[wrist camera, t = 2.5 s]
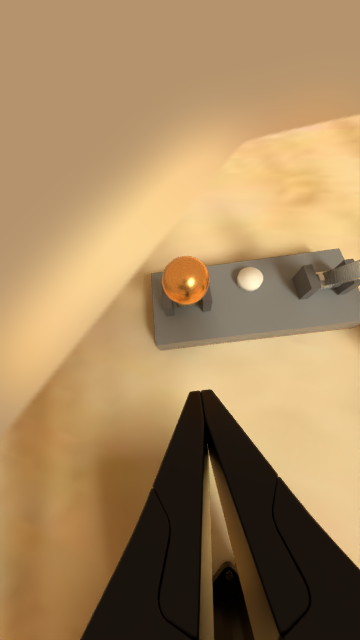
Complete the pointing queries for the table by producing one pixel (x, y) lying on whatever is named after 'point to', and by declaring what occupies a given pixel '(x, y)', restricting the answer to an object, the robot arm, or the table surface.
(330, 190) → the table surface
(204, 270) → the brass lever
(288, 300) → the switch panel
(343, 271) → the steel lever
